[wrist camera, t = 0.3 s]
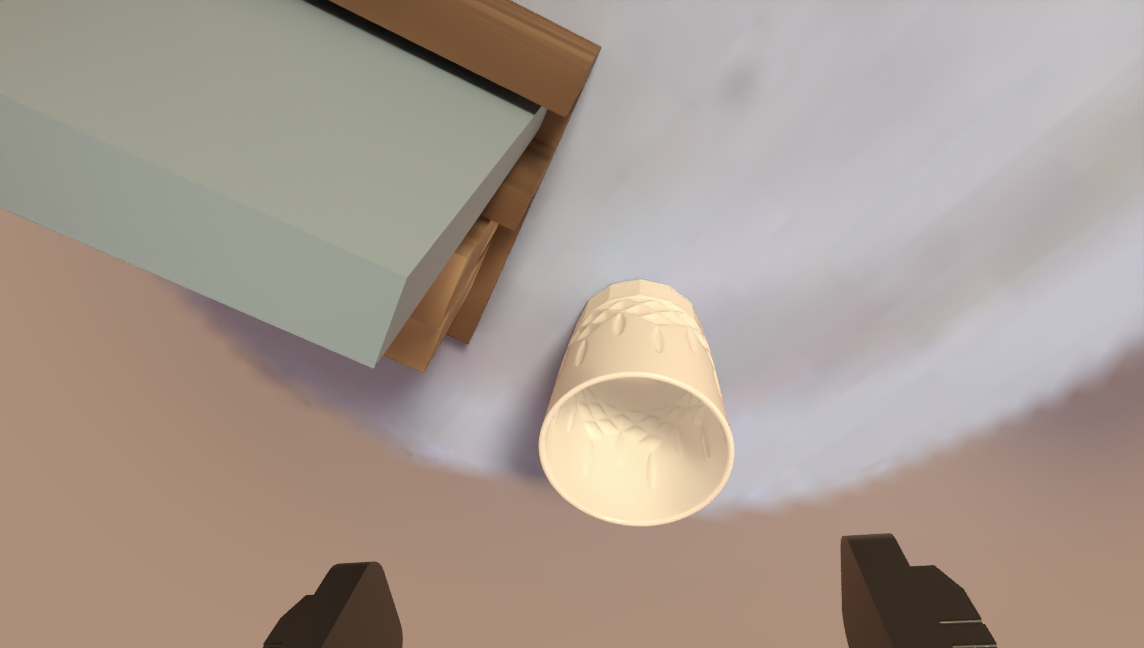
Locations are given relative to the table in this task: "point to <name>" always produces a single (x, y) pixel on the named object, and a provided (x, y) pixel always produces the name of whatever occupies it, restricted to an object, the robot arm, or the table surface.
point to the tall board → (254, 152)
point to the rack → (512, 60)
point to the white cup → (637, 411)
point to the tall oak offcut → (454, 274)
